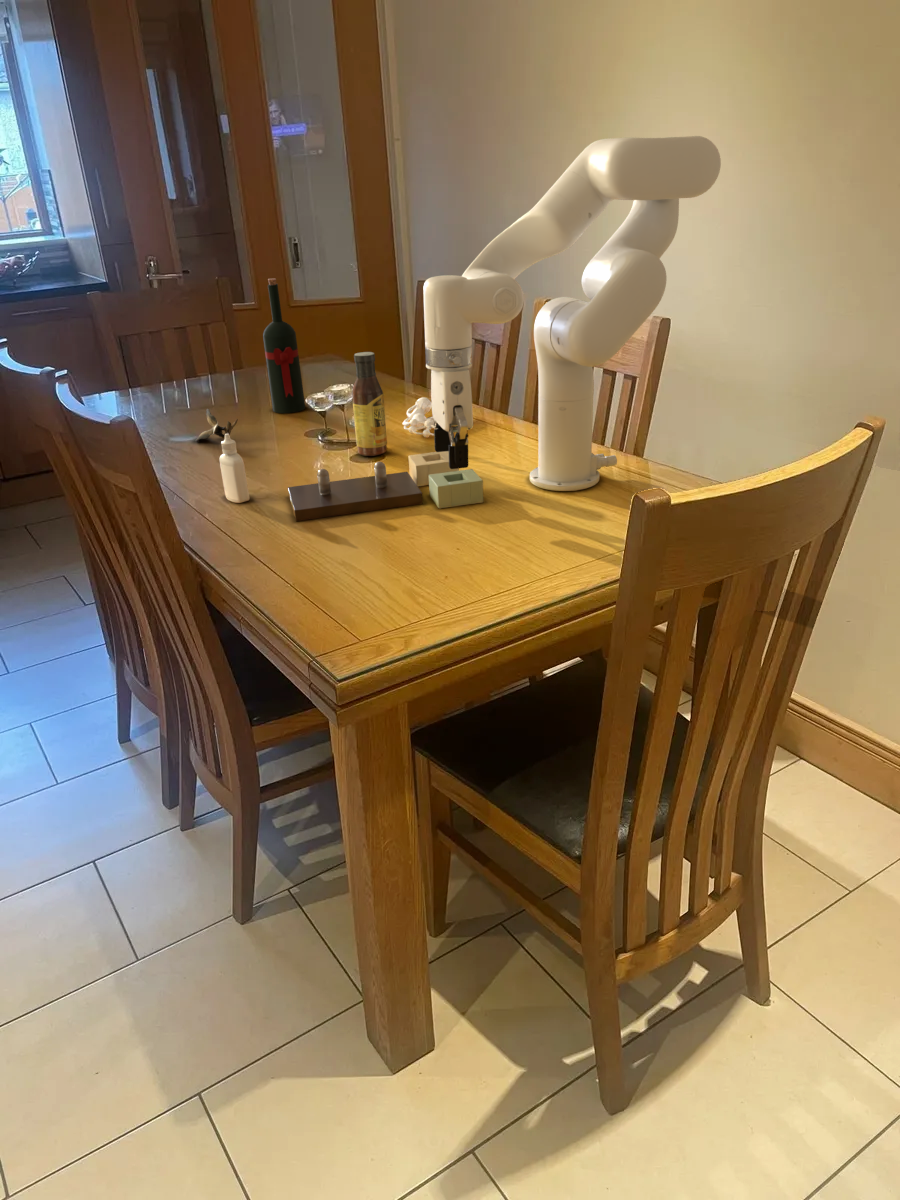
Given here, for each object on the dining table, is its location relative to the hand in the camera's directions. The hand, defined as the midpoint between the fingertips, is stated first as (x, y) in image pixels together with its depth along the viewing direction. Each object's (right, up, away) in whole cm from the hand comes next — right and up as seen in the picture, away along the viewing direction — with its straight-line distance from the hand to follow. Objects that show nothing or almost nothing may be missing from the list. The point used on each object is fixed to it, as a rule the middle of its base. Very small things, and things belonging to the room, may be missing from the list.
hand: (451, 459), depth 147 cm
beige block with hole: (-3, -1, +14) cm, 14 cm away
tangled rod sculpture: (-3, +15, +45) cm, 47 cm away
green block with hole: (+1, -6, +4) cm, 7 cm away
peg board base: (-17, -6, +5) cm, 19 cm away
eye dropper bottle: (-39, -6, +9) cm, 40 cm away
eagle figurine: (-52, +11, +42) cm, 67 cm away
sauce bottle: (-16, +6, +29) cm, 34 cm away
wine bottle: (-39, +22, +62) cm, 77 cm away
